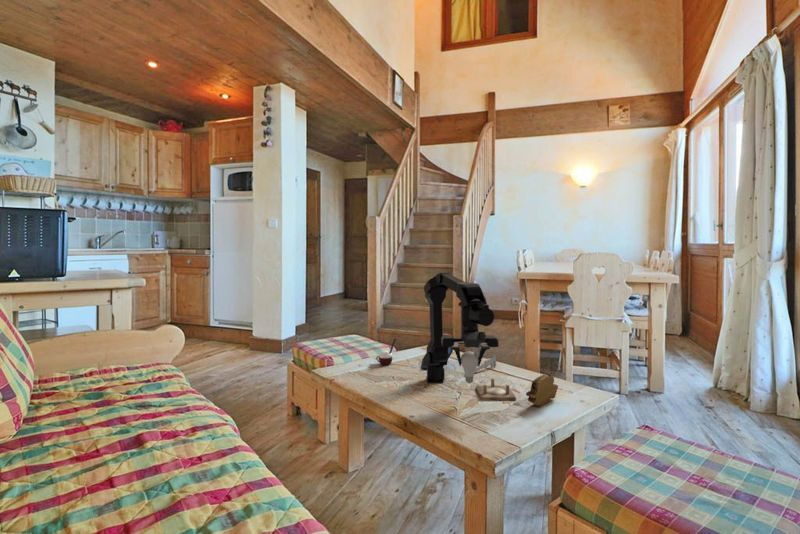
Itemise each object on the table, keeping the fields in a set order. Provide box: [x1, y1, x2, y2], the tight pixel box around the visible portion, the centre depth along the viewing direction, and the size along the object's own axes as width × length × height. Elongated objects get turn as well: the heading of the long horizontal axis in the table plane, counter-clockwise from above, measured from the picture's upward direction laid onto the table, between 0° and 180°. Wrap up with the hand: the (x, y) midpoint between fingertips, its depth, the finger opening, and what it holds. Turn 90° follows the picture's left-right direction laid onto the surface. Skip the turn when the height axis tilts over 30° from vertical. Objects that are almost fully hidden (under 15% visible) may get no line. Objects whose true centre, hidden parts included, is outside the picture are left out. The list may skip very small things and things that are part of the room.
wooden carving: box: [525, 374, 559, 407], centre depth 144 cm, size 16×5×10 cm, turn 134°
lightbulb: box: [460, 350, 479, 384], centre depth 145 cm, size 6×6×11 cm
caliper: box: [474, 353, 497, 374], centre depth 181 cm, size 20×1×6 cm, turn 131°
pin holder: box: [475, 378, 517, 401], centre depth 154 cm, size 12×12×4 cm
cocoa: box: [375, 338, 397, 366], centre depth 192 cm, size 10×6×12 cm, turn 48°
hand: (469, 365), depth 145 cm, fingers closed on lightbulb, 6 cm apart
